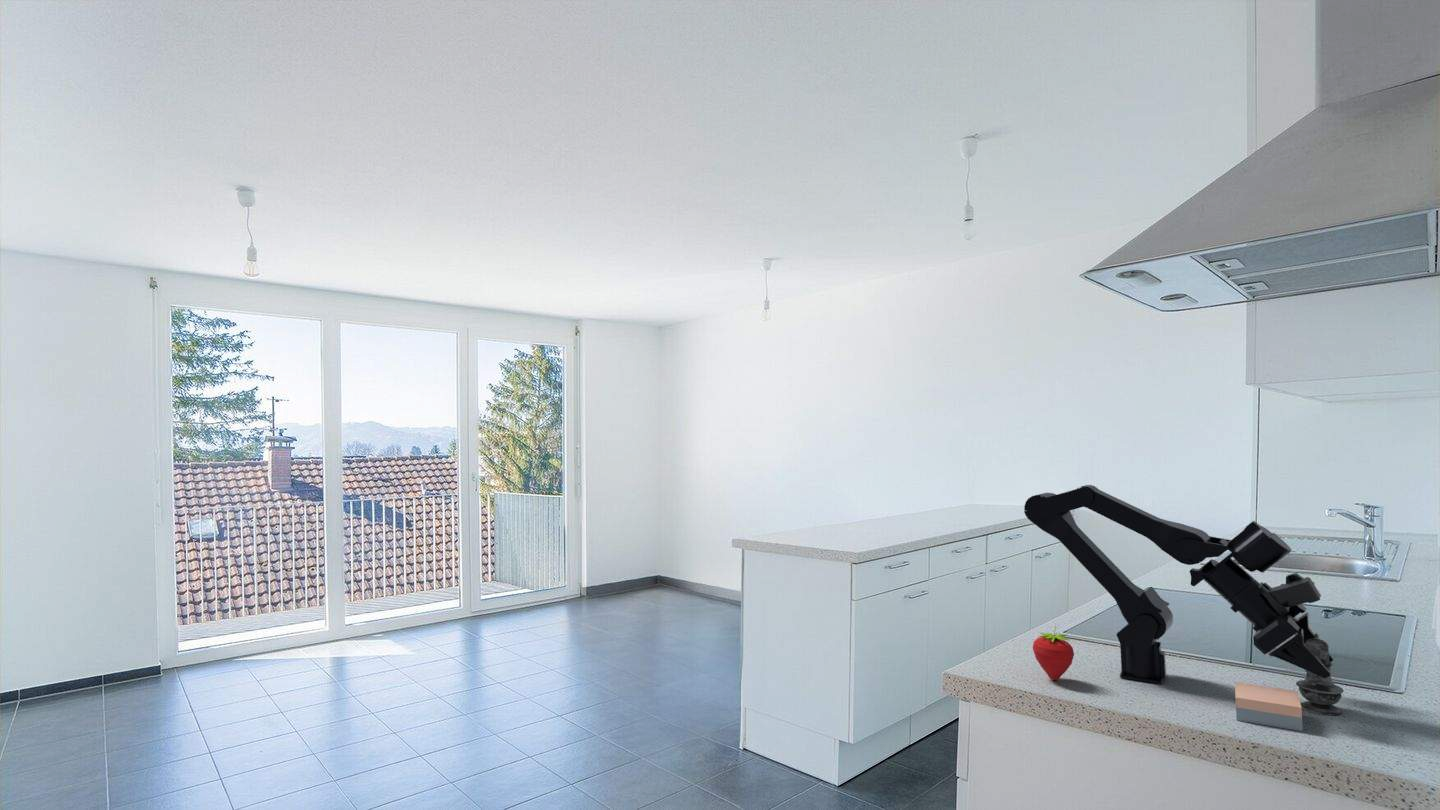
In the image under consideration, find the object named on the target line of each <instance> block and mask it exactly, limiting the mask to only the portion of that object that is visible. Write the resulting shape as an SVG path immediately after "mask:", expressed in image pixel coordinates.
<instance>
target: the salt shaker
mask: <svg viewBox="0 0 1440 810" xmlns="http://www.w3.org/2000/svg"><path fill="white" fill-rule="evenodd" d="M1314 634H1315V635H1314V636H1315V638H1312V639H1309V640H1307V641H1306V645H1307V647H1308V648H1309V649H1310V650H1311V651H1312V652H1313V653H1314V655H1315V656H1316V657H1317V658H1318V659H1319V660H1320V661H1321V663H1322V664H1323V665H1324V666H1325V667H1326V668H1327V670H1328V671H1329V672H1330V673H1331V667H1333V665H1334V664H1333V663H1332V662H1329V654H1330V651H1329V650H1330V649H1329V644H1328V643H1327V642H1326V641H1325V640H1322V639H1321V638H1320V635H1319V634H1318V633H1316V632H1315V633H1314ZM1295 685H1296V686H1297V687H1298V691H1299V693H1300V695H1301V696H1302V697H1303V699H1305V700H1306V701H1303V702H1300V703H1301V707H1302V710H1304V711H1307V712H1310V713H1312V714H1313V713H1314V714H1318V715H1324V716H1331V717H1332V716H1334V717H1335V716H1336V717H1337V716H1342V715H1343V710H1341V709H1340V708H1339V707H1337V706H1335V705H1336V704H1338V703H1339V702H1340V700H1341V698H1342V694H1343V693H1344V691H1345V690H1344V689H1343V688H1342V687H1341V686H1339V685H1337V684H1335V683H1334V682H1333V679H1332V673H1331V675H1330V676H1329V677H1327V678H1323V677H1320V676H1318V675H1316V674H1314V673H1311V672H1309V671H1307V670H1306V675H1305V679H1302V680H1297V681H1296V682H1295Z"/></svg>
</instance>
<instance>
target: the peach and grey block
mask: <svg viewBox="0 0 1440 810" xmlns="http://www.w3.org/2000/svg"><path fill="white" fill-rule="evenodd" d="M1234 689H1235V691H1234V692H1235V694H1234V695H1235V697H1234V698H1235V713H1236V721H1240V722H1245V723H1250V724H1256V725H1262V726H1268V727H1273V728H1274V727H1275V728H1280V729H1286V730H1292V731H1298V732H1304V726H1303V724H1304V723H1303V711H1302V710H1303V709H1302V707H1301V703H1302V702H1301V700H1300V695H1299V692H1298V691H1299V690H1293V689H1285V688H1279V687H1273V686H1265V685H1264V686H1263V685H1259V684H1250V683H1246V682H1245V683H1244V682H1237V681H1236V682H1234Z"/></svg>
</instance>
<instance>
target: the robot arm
mask: <svg viewBox="0 0 1440 810" xmlns="http://www.w3.org/2000/svg"><path fill="white" fill-rule="evenodd" d="M1081 508H1086V509H1088V510H1090V511H1093V512H1094V513H1097V514H1098V515H1100V516H1103V517H1105V518H1106V519H1109V520H1110V521H1112V522H1114V523H1117V524H1119V525H1121V526H1123V527H1125V528H1126V529H1128V530H1131V531H1133V532H1135V533H1137V534H1139V535H1141V536H1143V537H1145V538H1147V539H1148V540H1150V541H1151V542H1153V543H1154V545H1156V547H1158V548H1159V549H1160V550H1161V551H1163V552H1164V553H1166V554H1167V555H1169V556H1170V557H1171V558H1172V559H1174V560H1176V561H1177V562H1179V563H1181V564H1184V565H1187V566H1193V565H1198V564H1200V563H1202V562H1204V561H1205V560H1206V559H1207V558H1208V559H1210V558H1211V559H1210V560H1208V561H1207V562H1206V563H1205V564H1204V565H1202V566H1201V567H1200V568H1195V567H1193V568H1190V570H1189V574H1190V586H1192V587H1196V586H1197V585H1198V584H1200V583H1201V582H1202V581H1204V582H1206V584H1207V585H1209V586H1210V588H1212V589H1213V590H1214V591H1215V592H1216V593H1217V594H1219V595H1220V596H1221V597H1222V598H1223V599H1224V600H1225V601H1226V602H1228V604H1229V605H1230V610H1231V611H1232V612H1234V613H1235V614H1236V613H1240V614H1241V615H1242V617H1243V618H1245V619H1246V620H1248V622H1249V623H1251V624H1252V625H1253V626H1252V629H1253V630H1254V632H1255V633H1254V635H1253V637H1252V638H1253V646H1254V647H1255V648H1257V650H1259V651H1260V652H1261V653H1262V654H1263V655H1266V654H1268V655H1269V656H1270V657H1275V658H1277V659H1279V660H1282V661H1284V662H1286V663H1288V664H1291V665H1294V666H1295V667H1299V668H1300V669H1303V670H1305V671H1306V672H1307V671H1309V672H1311V673H1314V674H1316V675H1318V676H1320V677H1323V678H1327V677H1329V676H1330V675H1331V676H1332V673H1330V672H1329V671H1328V670H1327V668H1326V667H1325V666H1324V665H1323V664H1322V663H1321V661H1320V660H1319V659H1318V658H1317V657H1316V656H1315V655H1314V653H1313V652H1312V651H1311V650H1310V649H1309V648H1308V647H1307V645H1306V641H1307V640H1309V639H1312V638H1315V636H1314V635H1315V634H1316V633H1314V632H1313V630H1312V629H1311V628H1310V625H1309V624H1310V623H1309V622H1310V620H1309V617H1310V615H1309V612H1306V611H1307V608H1306V606H1304V605H1303V604H1307V603H1308V604H1313V603H1316V602H1318V601H1320V600H1321V597H1322V595H1321V593H1320V592H1319V590H1318V588H1317V587H1316V585H1315V582H1314V581H1313V580H1312V579H1311V577H1309V576H1306V577H1302V576H1301V575H1300V574H1298V573H1297V572H1295V573H1290V574H1286V576H1285V583H1282V584H1280V585H1277V586H1273V587H1271V585H1269V584H1268V583H1267V582H1263V581H1261V582H1259V581H1257V579H1255V578H1254V577H1253V576H1252V575H1251V574H1250V573H1253V572H1256V571H1258V572H1260V573H1262V574H1263V573H1265V572H1266V571H1268V570H1269V569H1270V568H1272V567H1274V565H1275V564H1278V563H1279V562H1280V561H1281V560H1283V558H1285V557H1286V556H1288V555H1289V554H1290V553H1292V552H1293V551H1292V548H1291V547H1290V546H1289V545H1288V544H1287V543H1286V542H1285V541H1284V539H1282V538H1281V537H1280V536H1279V535H1277V534H1276V533H1275V532H1271V531H1270V530H1269V529H1268V528H1266V527H1264V526H1262V525H1260V524H1259V523H1258V522H1256V521H1255V520H1252V521H1251V522H1249V524H1248V525H1246V526H1245V528H1244V529H1242V531H1240V532H1239V533H1238V534H1237V535H1236V536H1234V537H1233V538H1232V539H1227V538H1224V537H1223V538H1222V537H1216V536H1210V535H1209V534H1208V533H1207V532H1205V531H1204V530H1202V529H1200V528H1196V527H1194V526H1191V525H1187V524H1184V523H1179V522H1176V521H1171V520H1167V519H1163V518H1160V517H1158V516H1156V515H1153V514H1152V513H1149V512H1148V511H1145V510H1143V509H1141V508H1138V507H1136V506H1134V505H1132V504H1130V503H1128V502H1126V501H1124V500H1122V499H1120V498H1117V497H1116V496H1114V495H1111V494H1109V493H1107V492H1105V491H1103V490H1101V489H1099V488H1098V486H1095V485H1093V484H1084V485H1082V486H1079V487H1077V488H1075V489H1072V490H1068V491H1065V492H1061V493H1058V494H1056V493H1054V492H1043V493H1039V494H1035V495H1031V496H1030V497H1028V499H1026V501H1025V504H1024V508H1023V509H1024V512H1023V513H1024V515H1025V517H1026V518H1027V519H1028V520H1029V521H1030V522H1031V523H1033V524H1034V525H1035V526H1036V527H1037V528H1039V529H1040V530H1042V531H1043V532H1044V533H1047V534H1049V535H1050V536H1052V537H1053V538H1056V539H1057V540H1058V541H1059V542H1060V543H1061V544H1062V545H1063V546H1064V547H1065V548H1066V550H1067V551H1069V552H1070V554H1071V555H1072V556H1074V558H1075V559H1076V560H1077V561H1078V562H1079V564H1081V565H1082V566H1083V567H1084V569H1086V570H1087V571H1088V573H1090V574H1091V575H1092V577H1093V578H1094V579H1095V580H1096V581H1097V582H1098V583H1099V584H1100V585H1101V586H1102V588H1104V590H1106V591H1107V593H1109V595H1110V596H1111V597H1112V598H1113V599H1114V601H1115V602H1116V605H1117V608H1118V609H1119V612H1120V613H1121V615H1122V618H1124V620H1125V621H1126V623H1127V624H1126V625H1125V626H1124V627H1123V628H1121V629H1120V630H1119V631H1117V633H1115V634H1116V637H1117V639H1118V642H1119V644H1120V646H1119V647H1120V666H1121V667H1120V668H1121V671H1120V673H1119V678H1121V679H1126V680H1134V681H1140V682H1146V683H1153V684H1162V683H1163V679H1165V678H1166V675H1167V667H1166V666H1167V664H1166V663H1167V662H1166V652H1165V651H1164V650H1162V642H1161V641H1160V642H1159V641H1158V640H1160V639H1161V638H1162V637H1163V636H1164V635H1165V634H1166V633H1167V632H1168V631H1169V629H1170V628H1171V627H1172V625H1173V622H1174V613H1172V610H1171V609H1170V607H1169V606H1170V603H1169V602H1167V601H1165V600H1164V599H1163V598H1162V597H1161V596H1160V595H1159V594H1158V592H1157V591H1156V589H1155V588H1154V587H1152V586H1149V587H1148V588H1147V589H1146V590H1145V589H1143V588H1141V587H1140V586H1137V585H1136V584H1135V583H1133V582H1132V581H1131V579H1130V578H1128V577H1127V576H1126V574H1125V573H1124V572H1123V571H1122V570H1121V569H1120V568H1119V567H1118V566H1117V565H1116V564H1115V563H1114V562H1113V561H1112V560H1111V559H1110V558H1109V557H1108V556H1107V555H1106V554H1105V553H1104V552H1103V550H1101V549H1100V547H1098V546H1097V545H1096V544H1095V542H1093V540H1091V538H1089V536H1087V534H1085V532H1084V531H1083V530H1081V528H1080V527H1079V526H1078V525H1077V522H1076V520H1075V518H1074V516H1073V514H1072V511H1073V510H1077V509H1081ZM1227 551H1229V552H1230V553H1229V554H1228V555H1227V556H1225V557H1224V558H1223V559H1221V560H1220V561H1218V560H1216V559H1212V558H1218V557H1220V556H1222V555H1224V553H1225V552H1227ZM1234 559H1235V560H1234ZM1237 562H1238V563H1239V564H1240V565H1241V566H1240V565H1239V564H1238V563H1237ZM1247 571H1249V572H1250V573H1248V572H1247ZM1299 614H1302V615H1301V616H1300V615H1299ZM1333 661H1334V657H1332V655H1331V654H1330V653H1329V662H1331V663H1332V662H1333Z"/></svg>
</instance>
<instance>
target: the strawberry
mask: <svg viewBox="0 0 1440 810" xmlns="http://www.w3.org/2000/svg"><path fill="white" fill-rule="evenodd" d="M1056 629H1057V625H1055V627H1054V630H1053V631H1054V632H1053V633H1050V632H1047V633H1046V632H1039V634H1040V636H1038V637H1037V638H1036V639H1035V640H1033V644H1032V651H1033V655H1034V657H1035V660H1036V661H1037V662H1038V663H1039V665H1040V667H1041V668H1042V669H1043V671H1044V672H1045V674H1046V675H1047V676H1048V678H1049V679H1050V680H1051V679H1053V680H1056V681H1058V680H1059V679H1060V678H1061V677H1062V676H1063V675H1064V674H1065V673H1066V672H1067V670H1068V669H1069V668H1070V666H1071V665H1072V664H1073V659H1074V656H1075V652H1074V649H1073V646H1072V645H1071V644H1070V642H1068V641H1070V639H1069V638H1067V637H1066V636H1068V634H1062V633H1057V634H1056ZM1053 680H1052V681H1053Z"/></svg>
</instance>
